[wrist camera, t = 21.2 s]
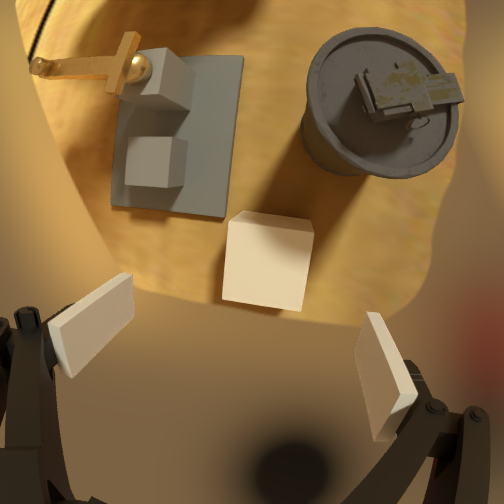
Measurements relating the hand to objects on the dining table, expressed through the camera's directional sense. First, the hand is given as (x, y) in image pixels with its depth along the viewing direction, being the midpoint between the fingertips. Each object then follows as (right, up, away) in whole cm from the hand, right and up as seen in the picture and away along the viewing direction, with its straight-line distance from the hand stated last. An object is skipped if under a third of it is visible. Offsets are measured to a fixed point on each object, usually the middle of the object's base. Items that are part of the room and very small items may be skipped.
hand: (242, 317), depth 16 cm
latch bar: (-16, +22, +8) cm, 28 cm away
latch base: (-9, +18, +18) cm, 28 cm away
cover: (+3, +4, +20) cm, 21 cm away
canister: (+12, +17, +16) cm, 26 cm away
